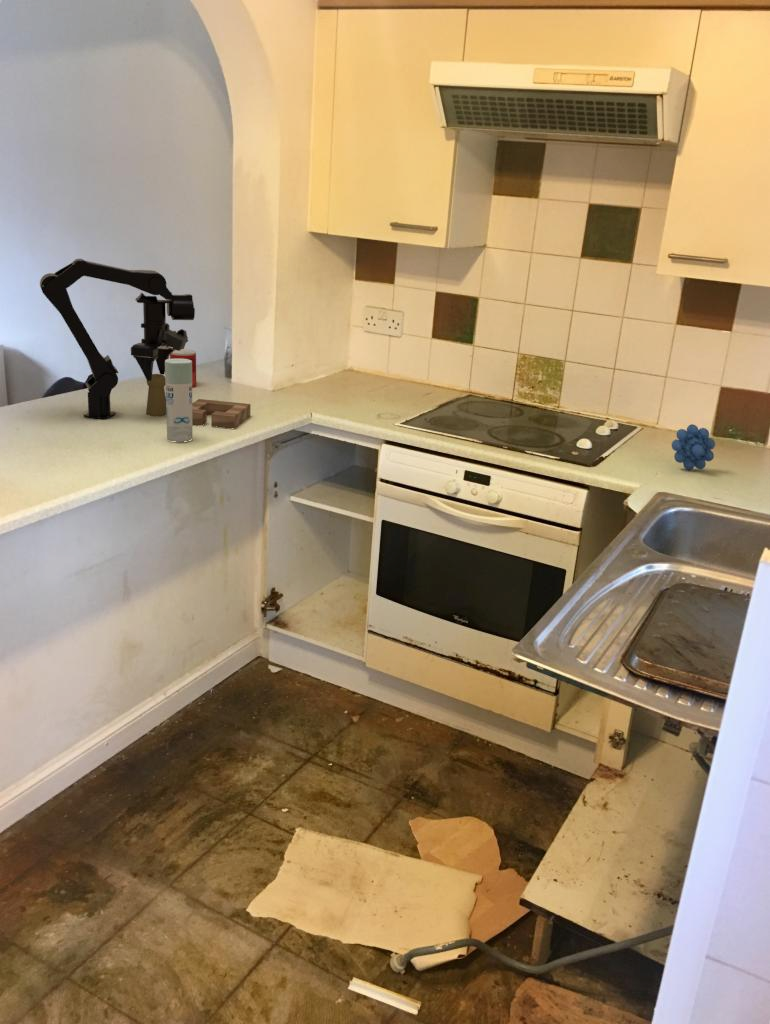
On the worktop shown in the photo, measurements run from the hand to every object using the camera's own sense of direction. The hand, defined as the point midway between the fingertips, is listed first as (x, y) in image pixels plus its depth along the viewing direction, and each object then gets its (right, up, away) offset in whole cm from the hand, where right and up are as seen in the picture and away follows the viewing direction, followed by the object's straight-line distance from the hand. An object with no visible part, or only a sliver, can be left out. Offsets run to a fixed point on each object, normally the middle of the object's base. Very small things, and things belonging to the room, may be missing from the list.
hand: (155, 377), depth 238 cm
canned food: (-1, +3, +38) cm, 38 cm away
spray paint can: (+11, -19, -19) cm, 29 cm away
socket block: (+16, -11, +2) cm, 20 cm away
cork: (-1, -10, +4) cm, 10 cm away
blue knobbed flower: (+141, -27, -15) cm, 144 cm away
